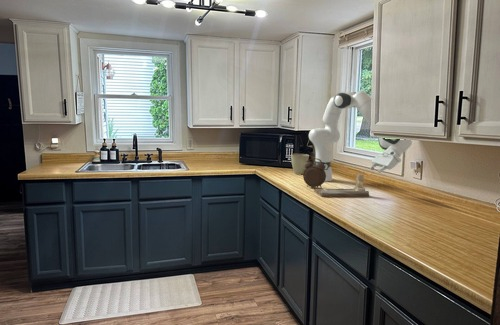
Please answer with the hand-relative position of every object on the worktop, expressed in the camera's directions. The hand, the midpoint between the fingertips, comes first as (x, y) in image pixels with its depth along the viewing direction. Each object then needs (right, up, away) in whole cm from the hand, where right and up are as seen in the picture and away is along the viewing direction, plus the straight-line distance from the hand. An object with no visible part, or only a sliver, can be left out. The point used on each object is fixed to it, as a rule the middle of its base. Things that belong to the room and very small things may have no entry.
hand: (374, 170), depth 218 cm
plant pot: (-37, -5, +72) cm, 81 cm away
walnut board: (-21, -15, 0) cm, 26 cm away
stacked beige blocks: (-10, -13, 0) cm, 16 cm away
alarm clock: (-35, -12, +17) cm, 41 cm away
